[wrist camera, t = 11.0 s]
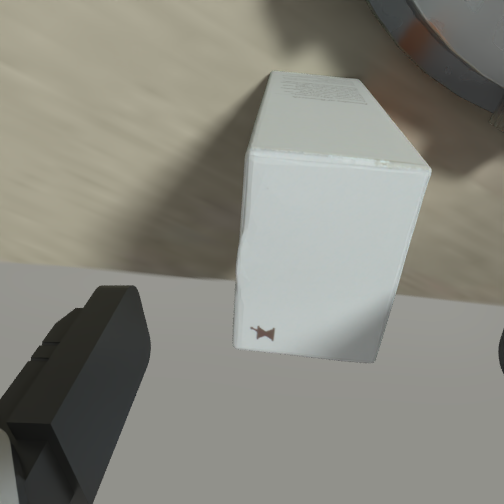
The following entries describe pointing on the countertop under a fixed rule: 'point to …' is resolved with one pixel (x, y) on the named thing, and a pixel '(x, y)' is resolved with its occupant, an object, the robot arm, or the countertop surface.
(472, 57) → the sprocket
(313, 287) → the skincare box
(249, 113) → the countertop surface
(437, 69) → the plate
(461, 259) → the countertop surface
